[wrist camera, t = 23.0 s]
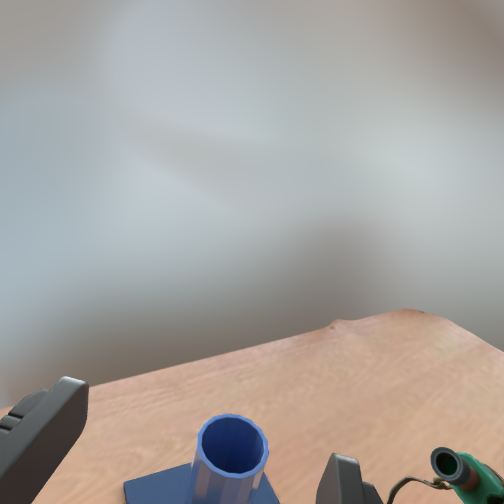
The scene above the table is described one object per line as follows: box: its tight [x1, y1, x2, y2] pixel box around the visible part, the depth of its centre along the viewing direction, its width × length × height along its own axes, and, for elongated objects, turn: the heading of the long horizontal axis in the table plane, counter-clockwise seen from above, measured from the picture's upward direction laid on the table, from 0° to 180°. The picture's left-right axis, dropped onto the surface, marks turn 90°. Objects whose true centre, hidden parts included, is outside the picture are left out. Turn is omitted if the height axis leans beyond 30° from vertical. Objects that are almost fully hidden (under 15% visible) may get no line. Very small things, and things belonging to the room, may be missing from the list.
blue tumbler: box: [183, 414, 269, 504], centre depth 31 cm, size 6×6×10 cm
